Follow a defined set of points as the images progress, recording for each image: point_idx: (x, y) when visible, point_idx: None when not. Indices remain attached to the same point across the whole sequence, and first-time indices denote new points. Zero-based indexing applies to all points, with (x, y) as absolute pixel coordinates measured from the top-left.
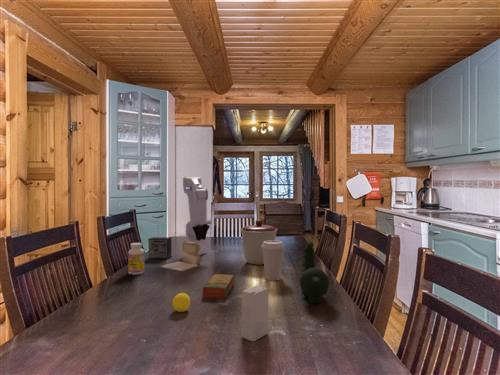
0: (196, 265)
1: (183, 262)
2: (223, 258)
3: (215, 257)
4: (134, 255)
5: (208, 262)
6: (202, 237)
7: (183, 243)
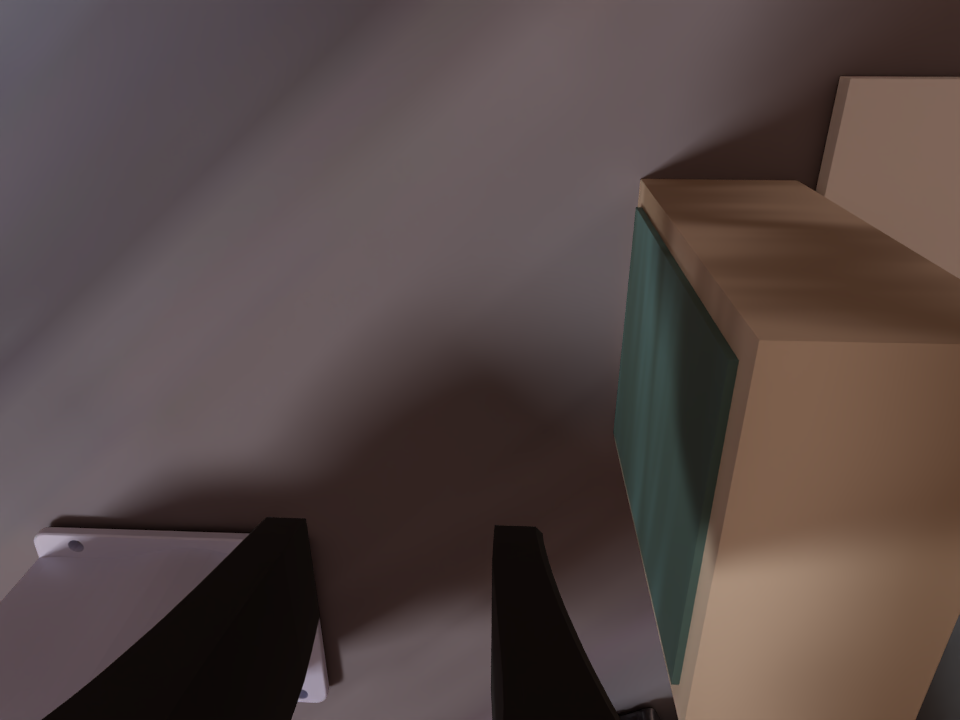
0: (893, 79)
1: None
2: (64, 57)
3: (126, 248)
4: None
5: (495, 100)
6: (297, 633)
7: (905, 704)
